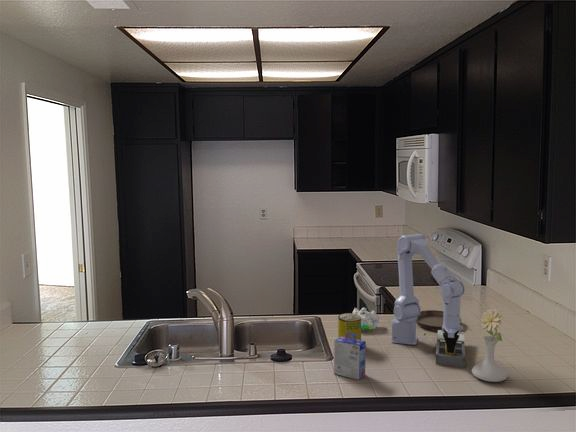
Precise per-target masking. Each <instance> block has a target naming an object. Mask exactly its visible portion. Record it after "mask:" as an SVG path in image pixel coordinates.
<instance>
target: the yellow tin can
mask: <svg viewBox="0 0 576 432" xmlns="http://www.w3.org/2000/svg"><path fill="white" fill-rule="evenodd" d="M352 313H353V312H352ZM352 313H351V312H349V313H348V312H347V313H345V312H344V313H341V314H339V315H338V319H337V320H338V322H337V324H338V325H337V329H338V330H337V332H338V334H337V339H338V338H339V337H346V335H347V332H351V333H356V339H357V340H362V328H361V316H360V315H357V314H352ZM348 337H353V338H354V336H353V335H348Z"/></svg>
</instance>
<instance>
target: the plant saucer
mask: <svg viewBox="0 0 576 432" xmlns="http://www.w3.org/2000/svg"><path fill="white" fill-rule="evenodd" d="M443 312H444V310H436V309H435V310H434V309H433V310H431V309H430V310H429V309H428V310H421V313H420V316H418V319H417V320H416V325H418V326H419V327H420V328H424V329H426V330H430V331H436V332H438V330H442V326H443ZM461 323H462V317H460V324H461Z"/></svg>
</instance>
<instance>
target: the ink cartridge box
mask: <svg viewBox="0 0 576 432" xmlns="http://www.w3.org/2000/svg"><path fill="white" fill-rule="evenodd" d="M348 335H353V336H354V338H353V337H348ZM333 345H334V349H333V350H334V351H333V352H334V353H333V354H334V355H333V357H334V360H333V375H339V376H342V377H346V378H350V379H355V380H361V379H362V378H363V377H365V376H366V354H367V353H366V351H367V348H366V345H367V344H366V340H363V339H361V340H357V339H356V333H351V332H347V335H346V337H339V338H338V337H337V338H336V339H335V340H334V344H333Z"/></svg>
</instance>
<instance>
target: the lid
mask: <svg viewBox="0 0 576 432" xmlns="http://www.w3.org/2000/svg"><path fill="white" fill-rule="evenodd" d="M443 333H445V332H444V330H443V327H442V330H438V331H437V336H436V337H437V338H436V341H437V340H440V341H444V337H443ZM457 335H459V339H458V340H457V342H456V343H461V342H464V343H465V332H462V331H461V329H459V332H458V334H457Z"/></svg>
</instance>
